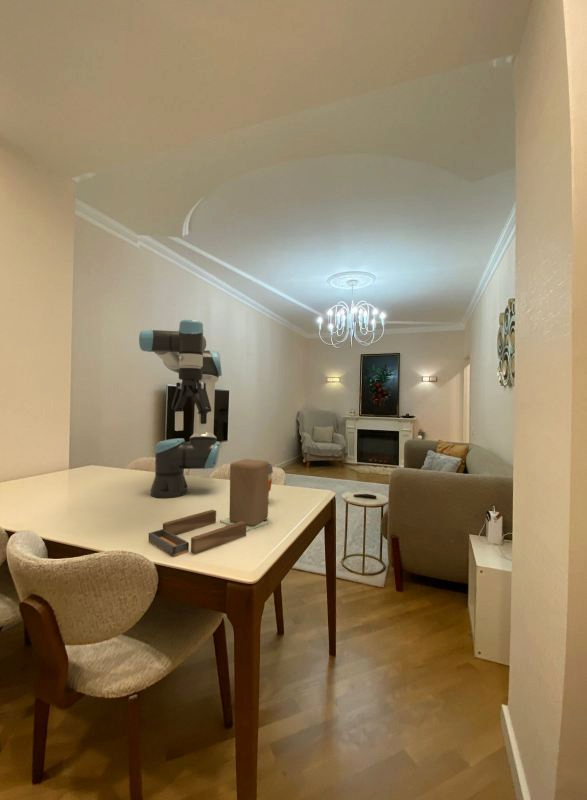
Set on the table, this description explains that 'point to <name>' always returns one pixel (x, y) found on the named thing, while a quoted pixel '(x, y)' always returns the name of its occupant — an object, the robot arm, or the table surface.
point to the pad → (248, 527)
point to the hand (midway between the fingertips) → (189, 432)
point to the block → (249, 491)
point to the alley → (209, 538)
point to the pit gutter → (168, 542)
